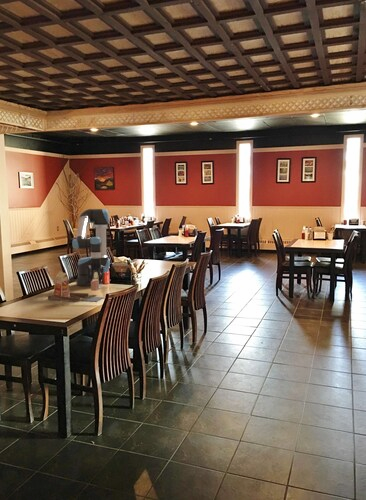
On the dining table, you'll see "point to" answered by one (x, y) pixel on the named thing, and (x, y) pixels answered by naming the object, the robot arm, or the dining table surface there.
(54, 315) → the dining table surface
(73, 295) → the brown wooden tray
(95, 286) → the latch block
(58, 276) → the milk carton
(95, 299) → the mat
